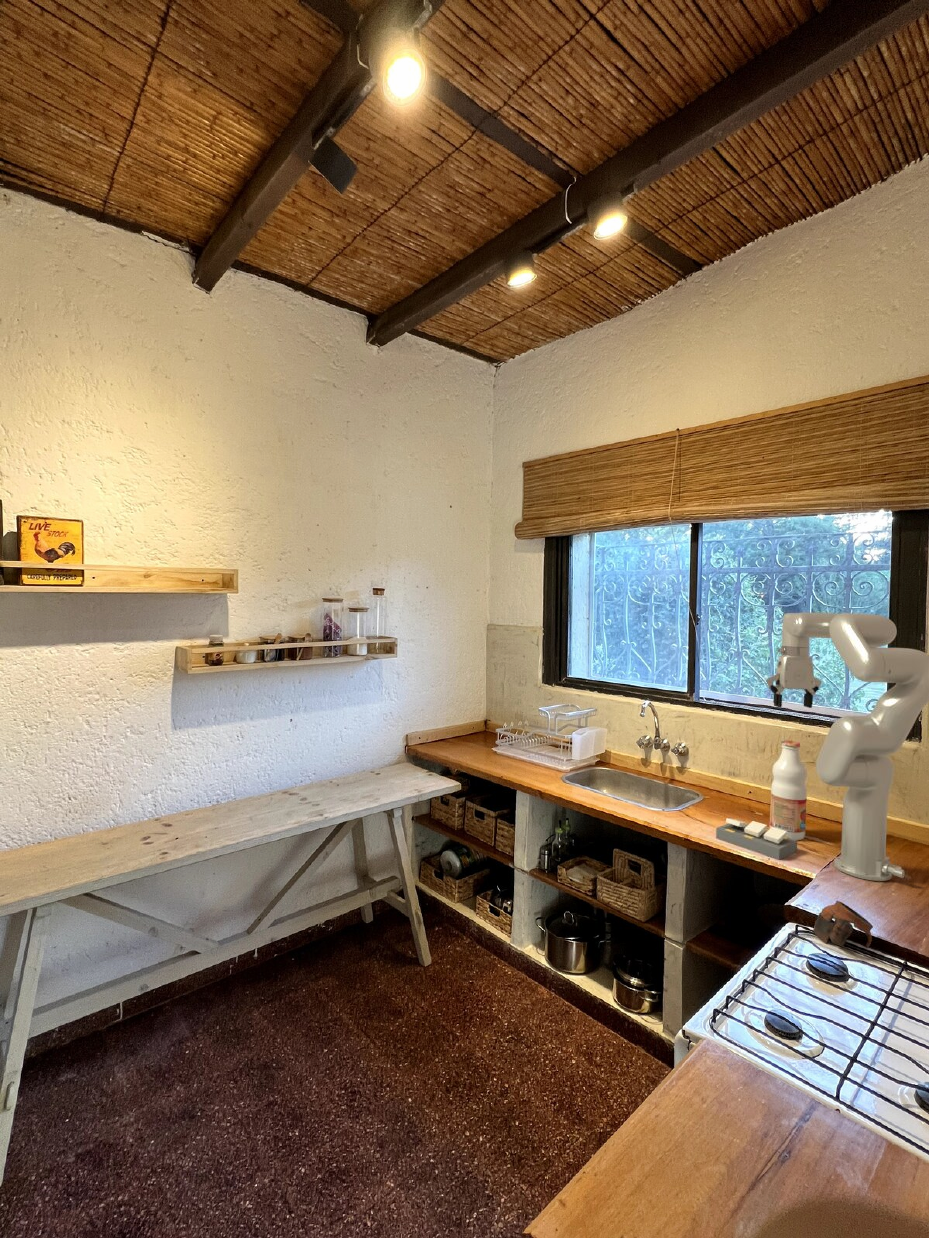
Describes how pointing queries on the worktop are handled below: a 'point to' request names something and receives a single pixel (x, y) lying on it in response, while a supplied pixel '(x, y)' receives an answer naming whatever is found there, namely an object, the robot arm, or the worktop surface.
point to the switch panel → (756, 842)
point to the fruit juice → (789, 792)
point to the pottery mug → (840, 924)
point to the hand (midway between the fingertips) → (792, 706)
